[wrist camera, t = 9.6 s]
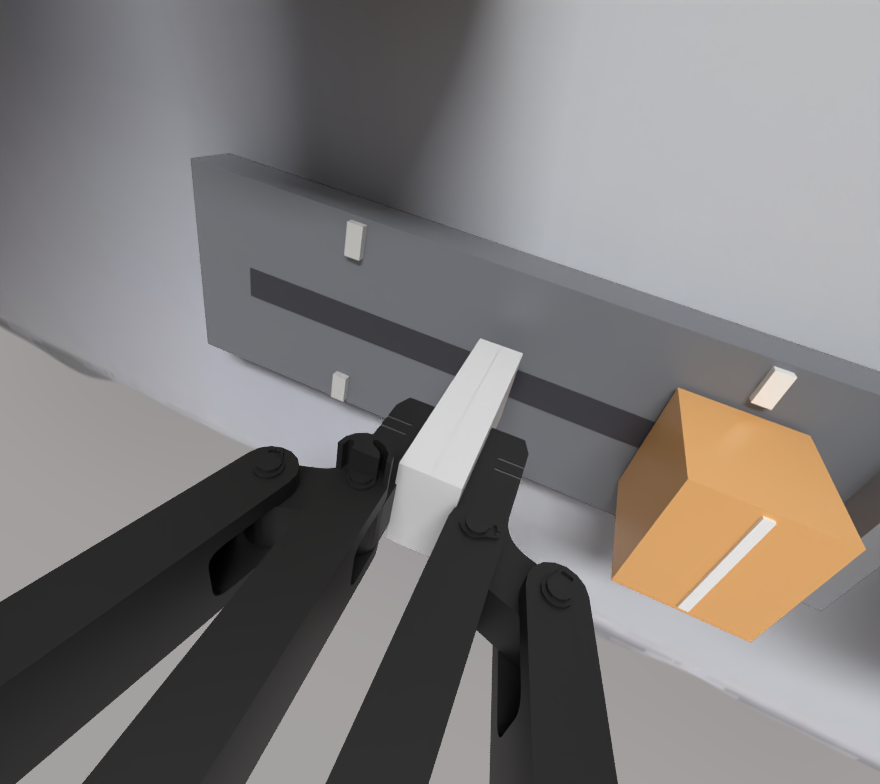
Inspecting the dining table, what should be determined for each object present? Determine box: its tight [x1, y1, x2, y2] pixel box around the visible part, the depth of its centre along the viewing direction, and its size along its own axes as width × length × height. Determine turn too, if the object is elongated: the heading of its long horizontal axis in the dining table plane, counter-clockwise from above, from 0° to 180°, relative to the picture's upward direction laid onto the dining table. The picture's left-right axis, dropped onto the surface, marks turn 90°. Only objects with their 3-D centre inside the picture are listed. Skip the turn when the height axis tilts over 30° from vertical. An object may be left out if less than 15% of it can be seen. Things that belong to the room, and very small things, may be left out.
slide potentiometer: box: [191, 153, 880, 611], centre depth 17 cm, size 26×8×4 cm, turn 78°
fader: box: [611, 388, 866, 642], centre depth 14 cm, size 4×4×5 cm
